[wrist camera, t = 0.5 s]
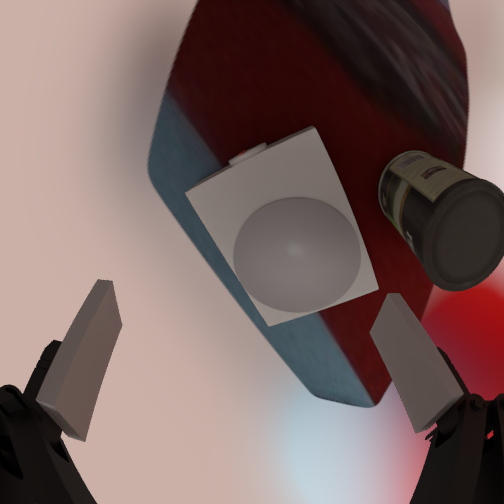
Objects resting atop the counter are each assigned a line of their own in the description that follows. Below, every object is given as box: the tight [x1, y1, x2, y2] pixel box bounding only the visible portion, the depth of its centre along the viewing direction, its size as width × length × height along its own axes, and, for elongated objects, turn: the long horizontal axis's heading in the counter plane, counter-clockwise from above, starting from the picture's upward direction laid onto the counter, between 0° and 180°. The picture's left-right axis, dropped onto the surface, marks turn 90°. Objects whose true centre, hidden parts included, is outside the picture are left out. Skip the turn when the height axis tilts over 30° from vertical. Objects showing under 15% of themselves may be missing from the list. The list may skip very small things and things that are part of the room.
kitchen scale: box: [185, 126, 379, 326], centre depth 32 cm, size 15×21×6 cm
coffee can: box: [378, 151, 504, 292], centre depth 24 cm, size 10×10×14 cm
